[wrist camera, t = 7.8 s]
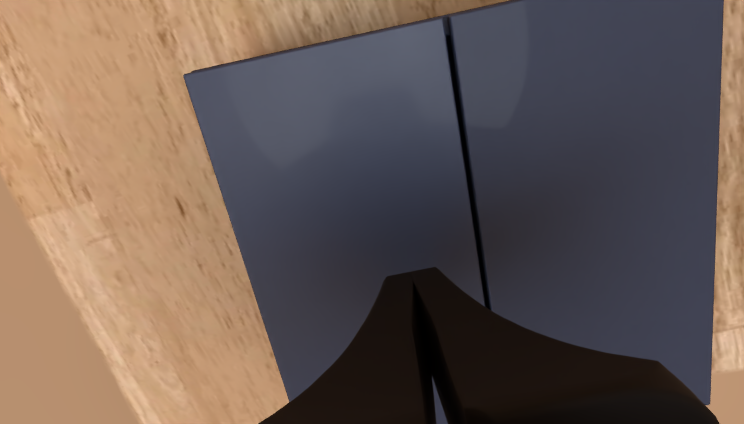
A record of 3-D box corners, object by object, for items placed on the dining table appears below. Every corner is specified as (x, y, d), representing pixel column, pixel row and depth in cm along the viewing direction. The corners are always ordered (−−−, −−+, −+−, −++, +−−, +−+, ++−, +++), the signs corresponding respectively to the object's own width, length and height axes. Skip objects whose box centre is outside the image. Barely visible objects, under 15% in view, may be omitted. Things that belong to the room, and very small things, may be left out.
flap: (501, 430, 16) (505, 440, 15) (314, 465, 16) (313, 475, 16) (440, 17, 12) (443, 16, 11) (187, 73, 12) (182, 74, 11)
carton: (602, 292, 22) (713, 405, 15) (326, 345, 23) (311, 477, 16) (586, -13, 18) (729, -49, 11) (246, 62, 18) (177, 73, 11)
